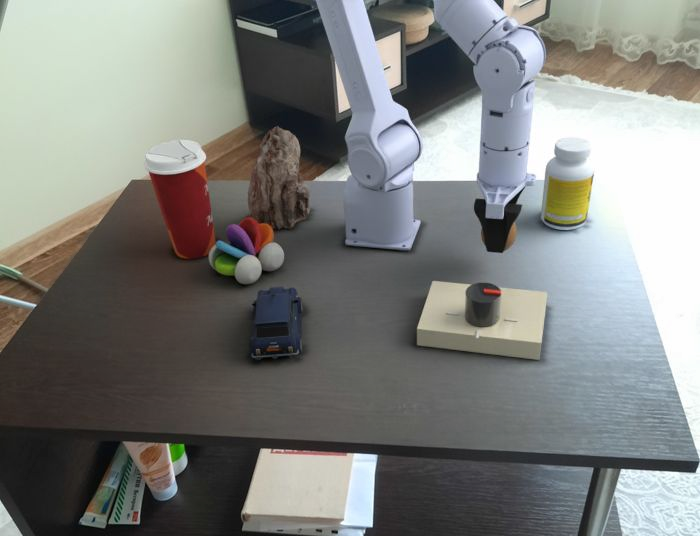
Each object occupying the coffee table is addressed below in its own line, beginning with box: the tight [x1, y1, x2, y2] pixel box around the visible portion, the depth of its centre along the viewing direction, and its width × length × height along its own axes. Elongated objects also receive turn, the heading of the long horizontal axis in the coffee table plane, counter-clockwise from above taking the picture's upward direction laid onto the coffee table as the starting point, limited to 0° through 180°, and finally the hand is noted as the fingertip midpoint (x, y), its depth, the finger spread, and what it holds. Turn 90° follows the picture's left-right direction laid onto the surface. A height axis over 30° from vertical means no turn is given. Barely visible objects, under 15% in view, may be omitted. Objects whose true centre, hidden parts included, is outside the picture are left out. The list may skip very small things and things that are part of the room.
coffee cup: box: [143, 139, 217, 260], centre depth 101 cm, size 8×8×15 cm
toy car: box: [248, 286, 303, 361], centre depth 87 cm, size 6×12×6 cm, turn 2°
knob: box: [465, 282, 501, 327], centre depth 84 cm, size 4×4×4 cm
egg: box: [480, 220, 517, 252], centre depth 93 cm, size 4×4×6 cm
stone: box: [247, 125, 311, 230], centre depth 106 cm, size 15×7×10 cm
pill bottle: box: [540, 136, 595, 231], centre depth 102 cm, size 6×6×12 cm
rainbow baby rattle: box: [208, 216, 285, 285], centre depth 98 cm, size 8×10×7 cm
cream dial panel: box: [416, 280, 548, 361], centre depth 86 cm, size 14×11×3 cm
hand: (497, 241), depth 94 cm, fingers closed on egg, 4 cm apart
